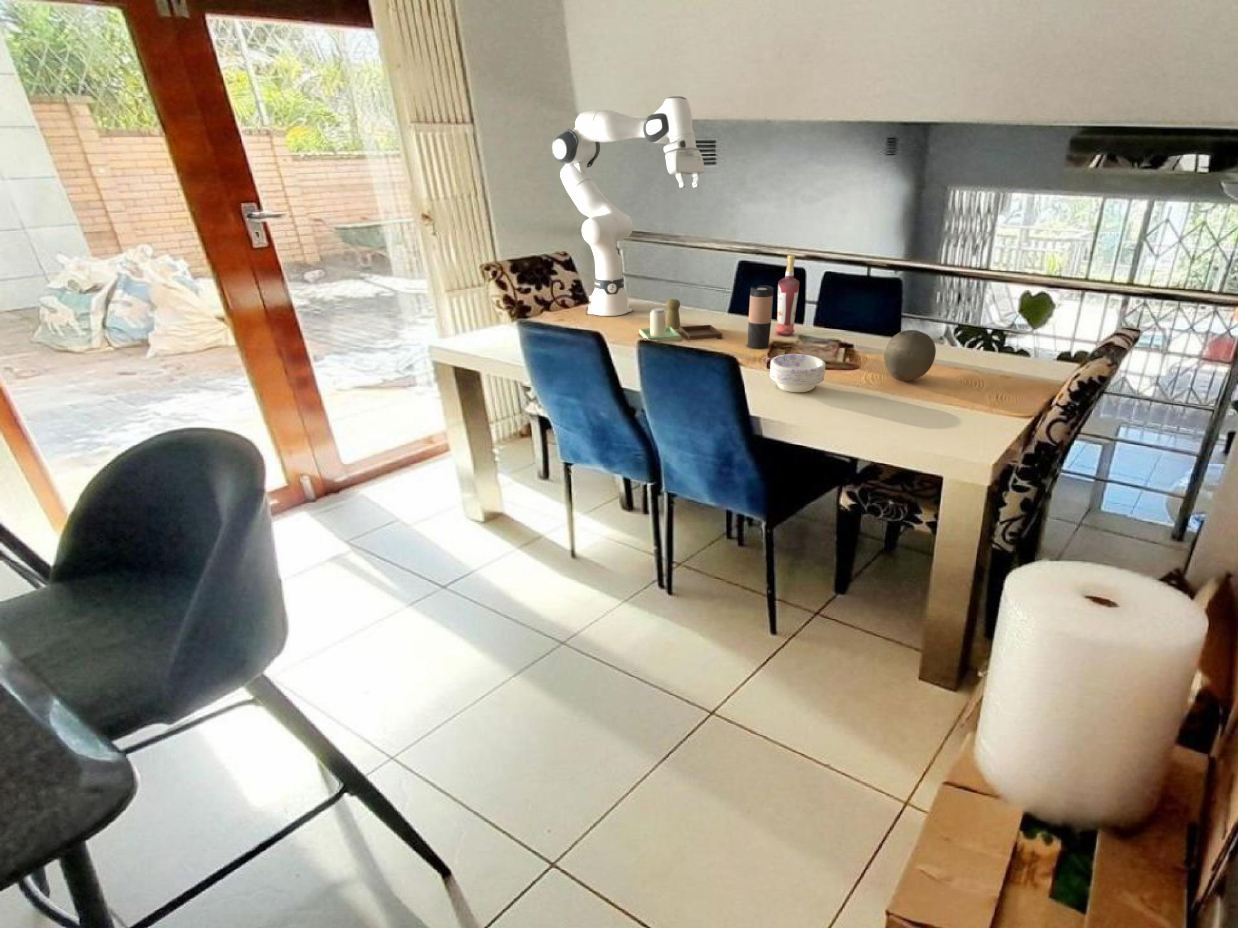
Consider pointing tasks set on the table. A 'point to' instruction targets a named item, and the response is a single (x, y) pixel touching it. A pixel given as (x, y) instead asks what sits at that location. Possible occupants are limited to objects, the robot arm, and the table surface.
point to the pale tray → (669, 335)
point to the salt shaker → (657, 322)
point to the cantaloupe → (909, 355)
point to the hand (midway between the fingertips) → (689, 187)
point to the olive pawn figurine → (673, 314)
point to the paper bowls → (797, 372)
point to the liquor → (787, 300)
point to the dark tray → (700, 332)
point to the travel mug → (760, 316)
